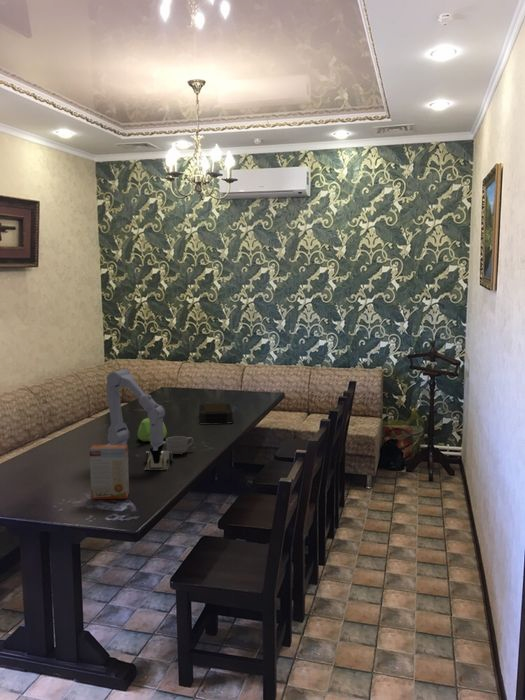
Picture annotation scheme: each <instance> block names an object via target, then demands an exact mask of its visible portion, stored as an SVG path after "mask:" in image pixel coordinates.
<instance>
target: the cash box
mask: <svg viewBox="0 0 525 700" xmlns="http://www.w3.org/2000/svg"><path fill="white" fill-rule="evenodd" d="M198 413H199V414H198V416H199V417H198V420H199V421H200V422H199V424H200V423H227V422H232V423H233V410H232V407H231V403H200V404H199V405H198Z"/></svg>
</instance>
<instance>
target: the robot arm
mask: <svg viewBox="0 0 525 700" xmlns="http://www.w3.org/2000/svg"><path fill="white" fill-rule="evenodd" d="M106 382H107V383H106V387H105V388H106V396H107V403H108V411H109V417H110V418H109V419H110V425H109V427H108V429H107V441H108V443H107V444H106V445H128V440H129V438H130V436H131V435H130V430H129V429H128V426H127V424H126V423H125V422H124V419H123V413H122V405H121V396H120V389H121V388H122V387H123V388H124V387H125V388H127V389H128V390H129V391H130V392H131V393H133V395H134V396H135V397H137V399H138V403H139V405H140V406H141V407H142V408H143V409H144V410H145V412H146V413H147V418H149V420H150V432H151V433H150V434H151V441H149V442H150V443H149V444H150V445H151V447H150V448H149V451H150V452H151V454H152V456H153V461H154V464H157V463H159V461H160V455H161V452H162V451H163V448H164V446H165V445H166V440H165V441H164V439H163V423H164V417H165V415H166V409H165V407H164V406H163V405H160V404H158V403H157V402H156V401H155V400H154V399H153V398H152V395H151V394H149V393H145V392H144V391H143V390H142V388H141V387H140V386H139V384H138V383H137V382H136V380H135V379H134V376H133V374H132V373H131V372H130V370H128V369H127V368H123V369H120V370H116V371H111V372H109V374H108V375H106ZM129 459H130V458H129V457H128V461H129Z"/></svg>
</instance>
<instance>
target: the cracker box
mask: <svg viewBox="0 0 525 700" xmlns="http://www.w3.org/2000/svg"><path fill="white" fill-rule="evenodd" d="M128 447H129V446H128V444H127V445H107V444H93V445H92V446H91V447H90V448H89V467H90V468H89V469H90V470H89V471H90V472H89V473H90V475H89V476H90V496H91V500H127V498H128V497H129V495H130V483H129V482H130V481H129V460H128V458H129V449H128ZM128 494H129V495H128Z"/></svg>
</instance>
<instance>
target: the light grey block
mask: <svg viewBox="0 0 525 700" xmlns="http://www.w3.org/2000/svg"><path fill="white" fill-rule="evenodd" d="M162 465H163V455H160V461H159V463H157V464H154V461H153V456H151V467H162Z"/></svg>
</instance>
